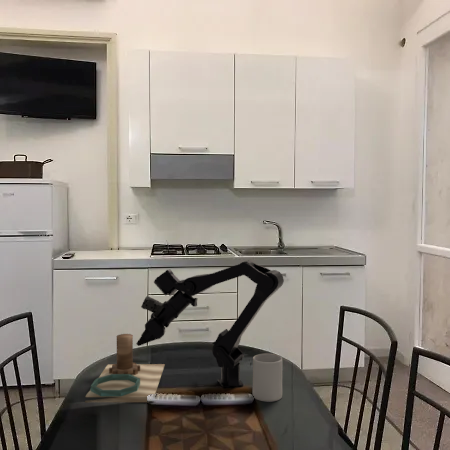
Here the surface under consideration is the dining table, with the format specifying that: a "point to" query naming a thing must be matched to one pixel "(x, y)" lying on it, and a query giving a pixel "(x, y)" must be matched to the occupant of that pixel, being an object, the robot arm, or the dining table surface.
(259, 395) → the mug
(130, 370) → the gear
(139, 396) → the gear board
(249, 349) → the dining table surface
